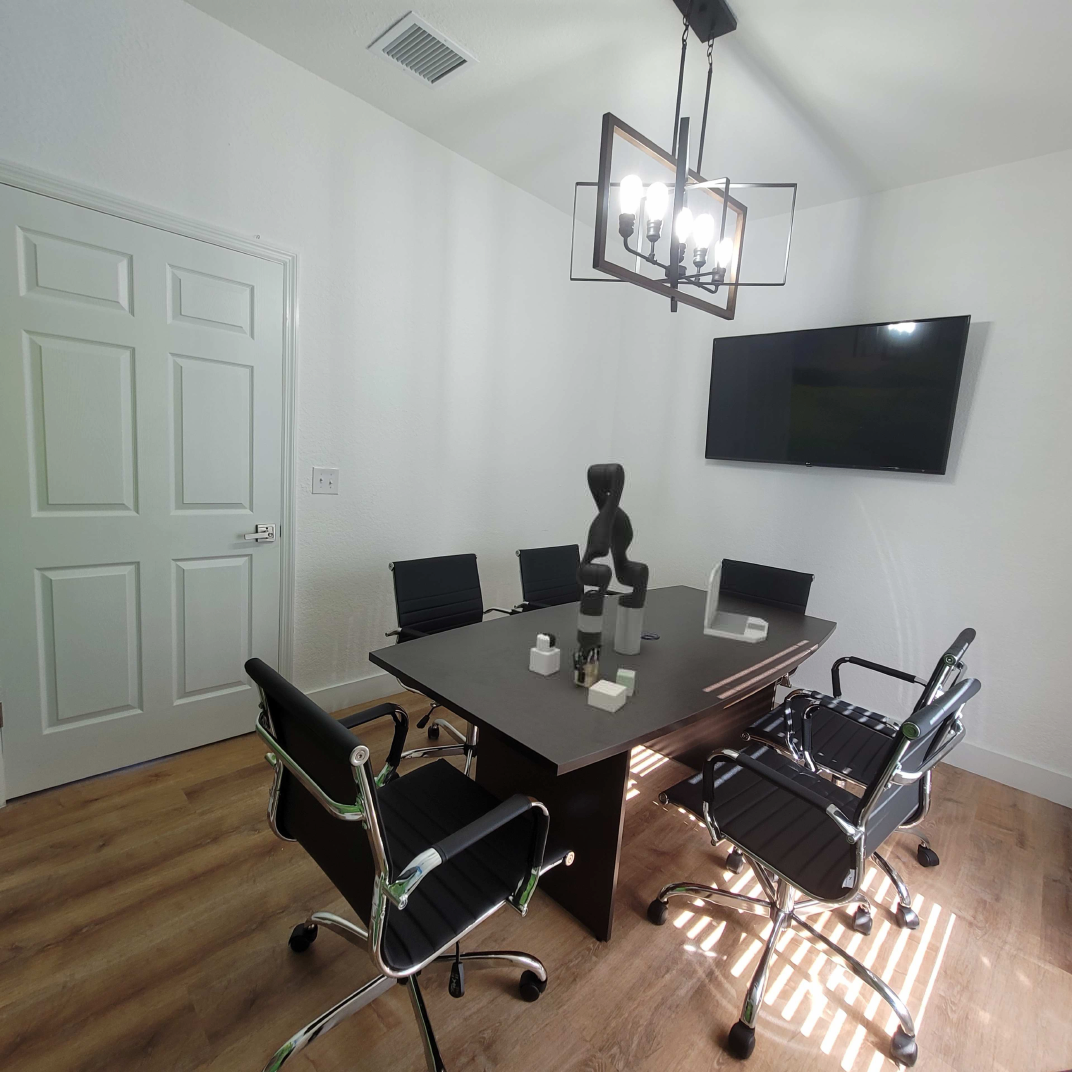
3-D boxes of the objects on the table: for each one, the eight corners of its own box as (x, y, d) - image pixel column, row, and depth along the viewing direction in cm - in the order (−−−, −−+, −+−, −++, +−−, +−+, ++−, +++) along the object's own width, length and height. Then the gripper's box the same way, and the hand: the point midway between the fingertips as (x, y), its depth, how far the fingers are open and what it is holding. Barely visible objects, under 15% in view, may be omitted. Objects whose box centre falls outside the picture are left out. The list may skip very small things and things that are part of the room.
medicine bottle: (542, 664, 182) (544, 629, 180) (559, 670, 178) (562, 635, 176) (528, 669, 177) (531, 634, 175) (545, 676, 172) (548, 640, 170)
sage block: (617, 687, 168) (619, 668, 167) (633, 689, 166) (635, 671, 166) (615, 693, 163) (616, 674, 162) (631, 696, 162) (633, 677, 161)
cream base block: (600, 695, 161) (601, 679, 161) (625, 703, 157) (626, 687, 156) (587, 704, 155) (589, 688, 154) (613, 713, 150) (614, 696, 150)
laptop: (765, 645, 218) (773, 581, 214) (702, 634, 228) (709, 572, 224) (768, 624, 248) (775, 567, 244) (713, 615, 258) (719, 560, 254)
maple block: (582, 678, 173) (584, 657, 172) (596, 682, 170) (598, 661, 169) (574, 682, 169) (575, 661, 168) (588, 687, 166) (589, 665, 165)
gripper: (591, 619, 175) (587, 670, 177) (566, 629, 163) (562, 683, 166) (611, 625, 170) (607, 676, 173) (588, 635, 159) (583, 690, 161)
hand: (585, 679), depth 169 cm, fingers closed on maple block, 5 cm apart
